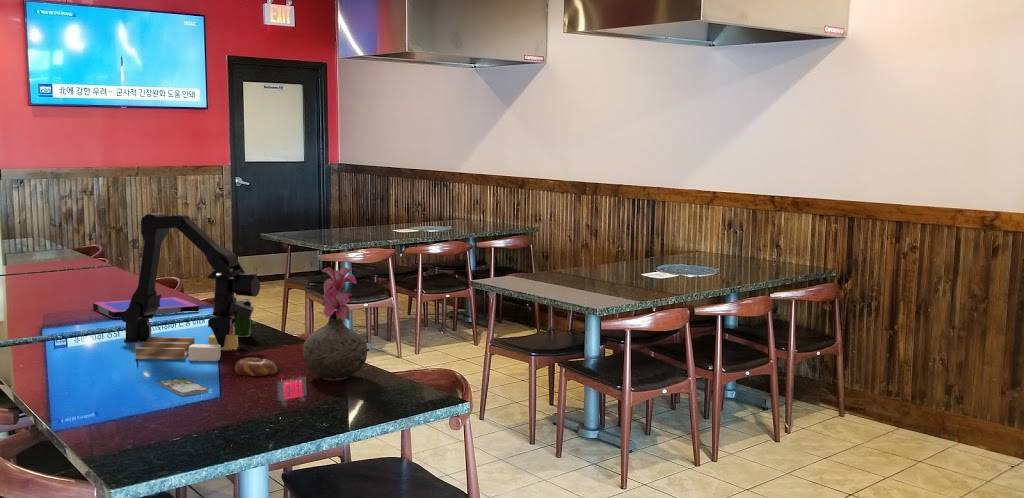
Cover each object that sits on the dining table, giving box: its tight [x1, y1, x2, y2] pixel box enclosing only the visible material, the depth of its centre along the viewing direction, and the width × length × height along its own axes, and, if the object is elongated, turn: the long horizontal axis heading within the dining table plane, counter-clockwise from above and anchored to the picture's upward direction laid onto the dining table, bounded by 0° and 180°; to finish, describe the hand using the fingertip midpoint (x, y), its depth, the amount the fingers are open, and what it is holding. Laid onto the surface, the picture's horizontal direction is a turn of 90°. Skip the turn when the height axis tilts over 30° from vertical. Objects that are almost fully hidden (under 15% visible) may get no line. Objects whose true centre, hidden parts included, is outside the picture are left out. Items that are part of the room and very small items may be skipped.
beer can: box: [232, 298, 252, 338], centre depth 284 cm, size 5×5×12 cm
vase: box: [302, 266, 368, 379], centre depth 237 cm, size 17×17×30 cm
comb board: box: [135, 336, 196, 360], centre depth 257 cm, size 13×16×3 cm
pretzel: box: [234, 356, 278, 377], centre depth 241 cm, size 12×11×4 cm
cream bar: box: [187, 343, 222, 362], centre depth 252 cm, size 8×4×4 cm, turn 97°
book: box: [92, 296, 200, 317], centre depth 319 cm, size 21×3×30 cm
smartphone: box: [157, 377, 209, 397], centre depth 221 cm, size 7×1×15 cm
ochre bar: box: [208, 334, 239, 351], centre depth 266 cm, size 8×4×4 cm, turn 101°
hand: (223, 345), depth 266 cm, fingers open, 6 cm apart
